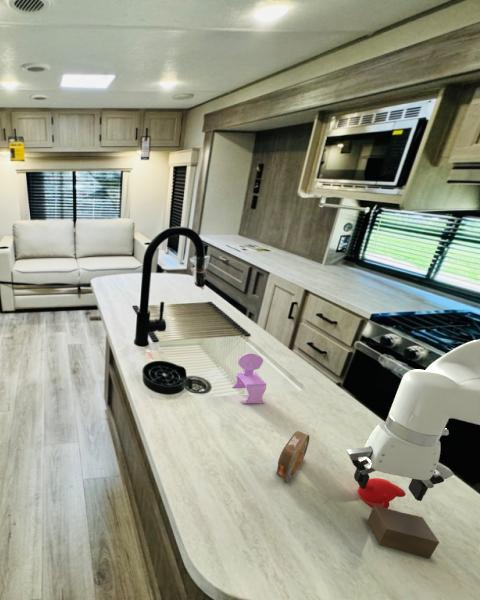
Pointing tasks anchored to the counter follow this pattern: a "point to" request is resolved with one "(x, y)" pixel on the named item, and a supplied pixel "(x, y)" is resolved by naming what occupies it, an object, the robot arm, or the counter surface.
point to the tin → (292, 455)
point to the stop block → (402, 532)
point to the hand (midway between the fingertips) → (386, 488)
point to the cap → (379, 492)
